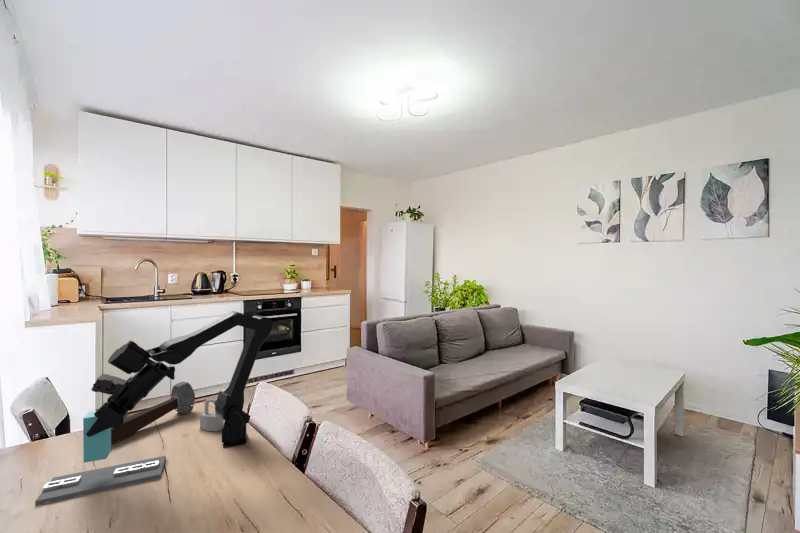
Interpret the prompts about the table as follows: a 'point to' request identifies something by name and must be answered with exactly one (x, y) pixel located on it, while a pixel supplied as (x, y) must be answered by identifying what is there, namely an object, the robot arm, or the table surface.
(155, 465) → the steel chain
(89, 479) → the rubber mat
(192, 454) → the table surface
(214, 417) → the padlock
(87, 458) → the teal block
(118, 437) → the hammer
